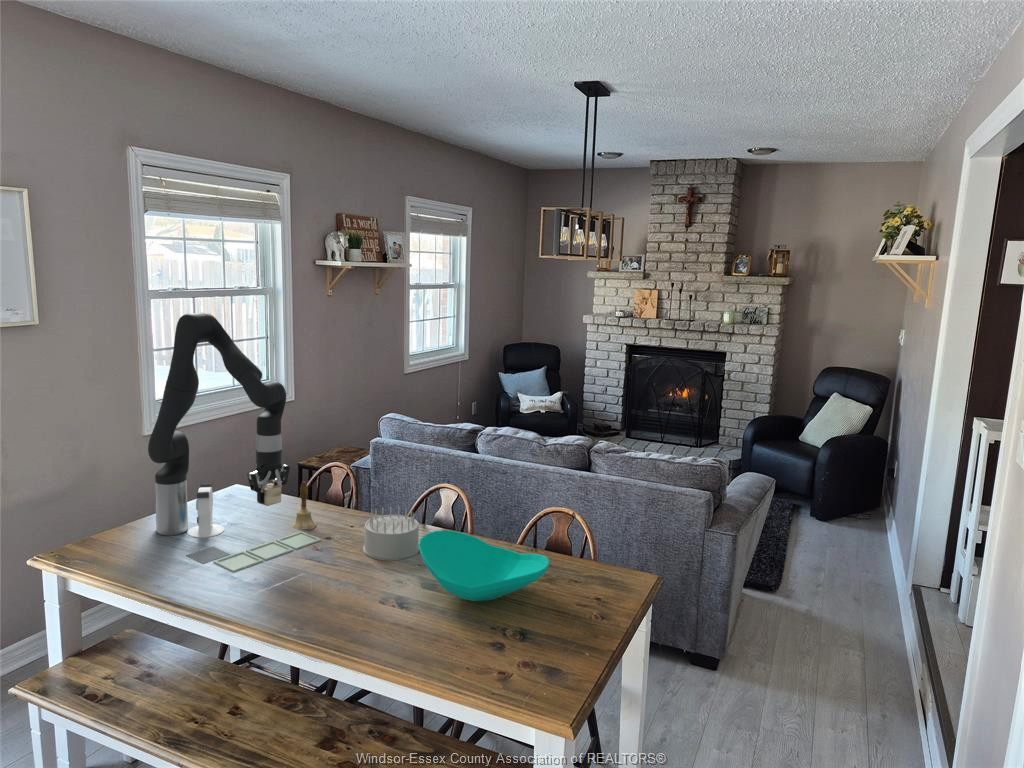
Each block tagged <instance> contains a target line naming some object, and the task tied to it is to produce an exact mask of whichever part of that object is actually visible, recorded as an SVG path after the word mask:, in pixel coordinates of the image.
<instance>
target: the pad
mask: <svg viewBox="0 0 1024 768" xmlns="http://www.w3.org/2000/svg"><path fill="white" fill-rule="evenodd" d="M230 555H231V554H230V553H228V552H226V551H224V550H222V549H220V548H217V547H215V546H210V547H207V548H204V549H201V550H198V551H195V552H191V553H189V554H186V555H185V556H186V557H187V558H189V559H191V560H193V561H196V562H198V563H200V564H202V565H204V564H208V563H210V562H213V561H215V560H218V559H221V558H224V557H227V556H230Z"/></svg>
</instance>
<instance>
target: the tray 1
mask: <svg viewBox="0 0 1024 768" xmlns="http://www.w3.org/2000/svg"><path fill="white" fill-rule="evenodd" d="M263 562H264V559H261V558H259V557H257V556H255V555H252V554H250V553H248V552H246V551H244V550H242V551H238V552H236V553H232V554H230V555H228V556H225V557H222V558H219V559H216V560H213V561H212V563H213V564H215V565H217V566H219V567H221V568H224V569H226V570H228V571H230V572H232V573H235V572H238V571H241V570H243V569H246V568H249V567H252V566H255V565H258V564H260V563H263Z"/></svg>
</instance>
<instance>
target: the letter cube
mask: <svg viewBox="0 0 1024 768" xmlns="http://www.w3.org/2000/svg"><path fill="white" fill-rule="evenodd" d="M256 502H257V503H258V504H260V503H259V502H258V501H257V500H256ZM279 503H282V487H281V486H278V485H275V484H273V482H271V483H267V485H266V486H265V489H264V504H262V505H263V506H266V507H270V506H273V505H277V504H279Z"/></svg>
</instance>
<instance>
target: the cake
mask: <svg viewBox="0 0 1024 768" xmlns="http://www.w3.org/2000/svg"><path fill="white" fill-rule="evenodd" d="M400 508H401V507H400V506H398V508H397V514H392V506H390V507H389V514H386V515H385V514H384V507H382V508H381V515H379V516H377V513H378V510H377V509H375V510H374V511H375V512H374V513H375V515H374V517H373V508H371V510H370V511H371V512H370V514H369V519H368V520H366V522H365V524H364V544H363V546H362V552H363V554H364V555H365V556H366V557H369V558H370V559H375V560H378V561H387V562H388V561H390V562H392V561H401V560H406V559H409V558H412V557H414V556H415V555H417V554H418V553H419V552H420V549H419V546H418V545H419V541H420V538H419V532H420V523H419V521H418V520H417V519H415V513H413V511H412V509H411V510H410V516H407V514H408V513H407V512H408V508H405V509H404V511H405V514H404V515H403V514H402V515H401V514H400Z"/></svg>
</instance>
